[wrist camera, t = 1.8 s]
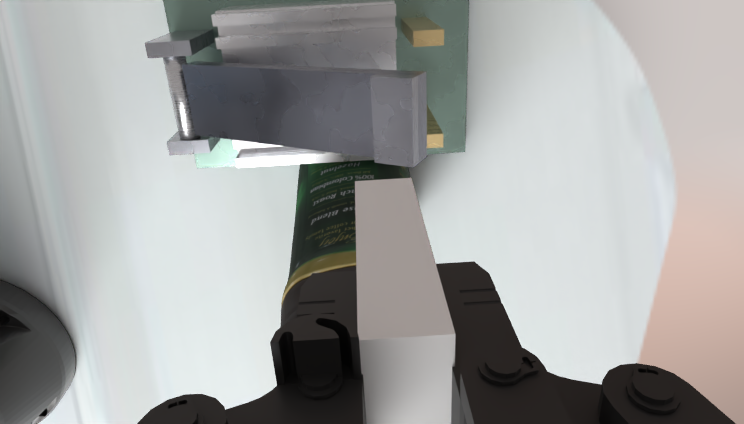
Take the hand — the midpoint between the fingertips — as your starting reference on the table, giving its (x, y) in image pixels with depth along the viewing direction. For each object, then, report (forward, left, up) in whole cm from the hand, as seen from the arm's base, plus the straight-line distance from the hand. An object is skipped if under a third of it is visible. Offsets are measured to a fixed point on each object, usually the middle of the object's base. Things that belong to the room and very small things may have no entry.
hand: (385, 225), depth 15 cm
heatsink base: (-3, 0, -24) cm, 24 cm away
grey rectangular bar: (-3, 0, -15) cm, 15 cm away
